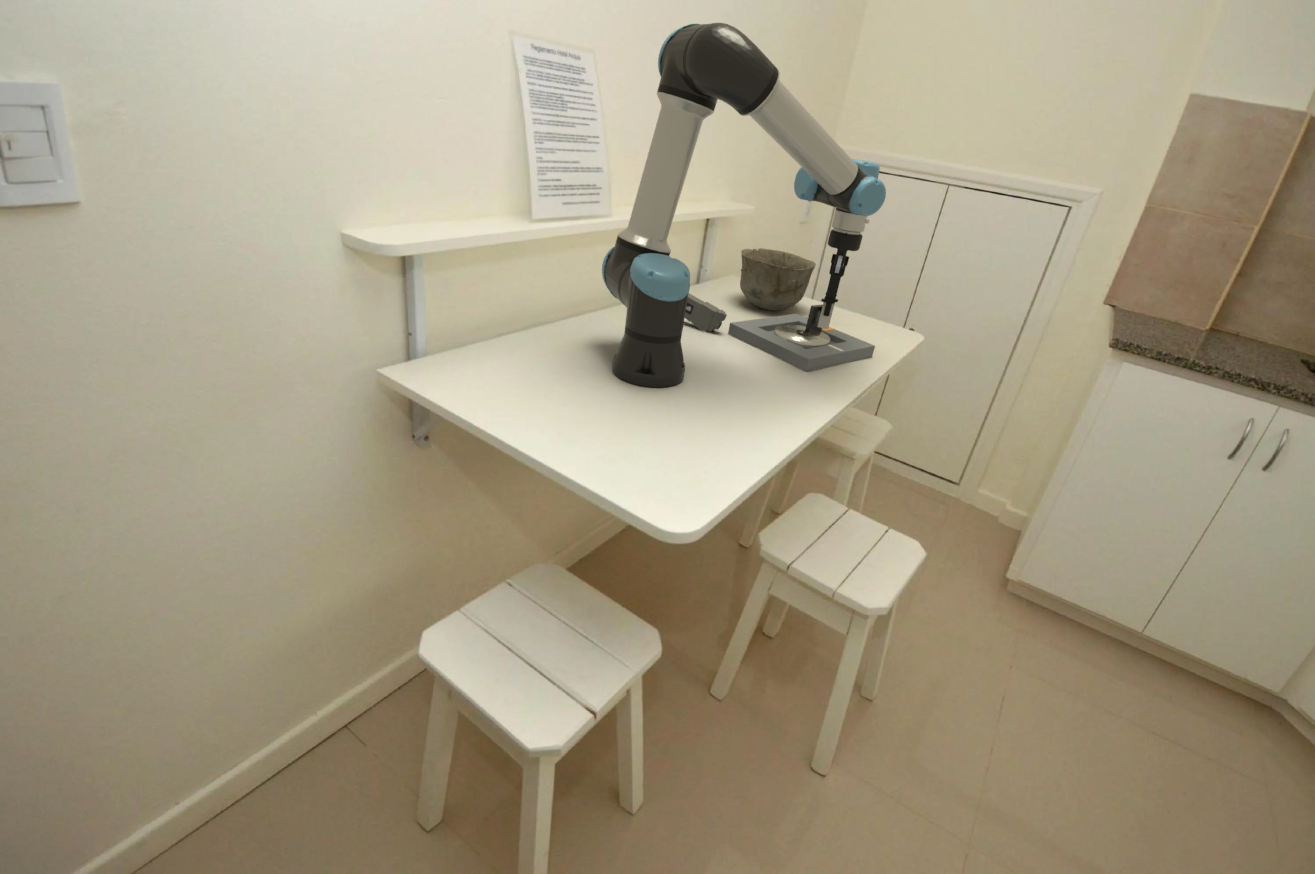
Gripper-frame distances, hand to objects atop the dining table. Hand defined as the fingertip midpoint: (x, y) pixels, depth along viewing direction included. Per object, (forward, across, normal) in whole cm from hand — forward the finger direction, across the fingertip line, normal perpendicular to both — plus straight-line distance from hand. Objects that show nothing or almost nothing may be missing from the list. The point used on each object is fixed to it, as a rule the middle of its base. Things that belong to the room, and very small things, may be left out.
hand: (822, 327), depth 165 cm
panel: (+5, -2, +4) cm, 7 cm away
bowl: (+5, +28, +17) cm, 33 cm away
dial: (+4, -2, +4) cm, 6 cm away
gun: (+6, -3, +37) cm, 38 cm away
